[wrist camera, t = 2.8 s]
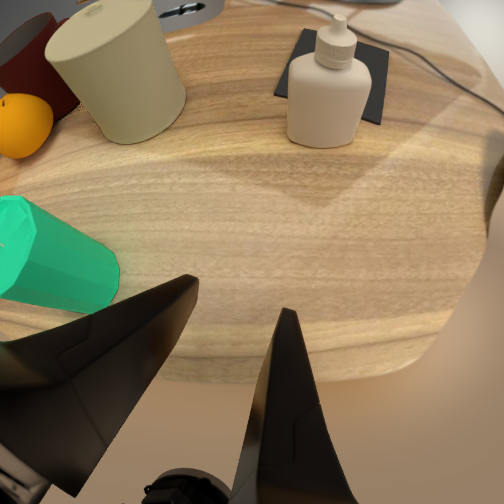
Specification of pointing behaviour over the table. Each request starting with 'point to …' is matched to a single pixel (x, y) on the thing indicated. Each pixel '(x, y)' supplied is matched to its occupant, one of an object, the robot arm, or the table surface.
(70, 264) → the candle
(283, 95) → the felt mat
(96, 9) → the can
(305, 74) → the eye dropper bottle
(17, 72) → the mug
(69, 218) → the table surface
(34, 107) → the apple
